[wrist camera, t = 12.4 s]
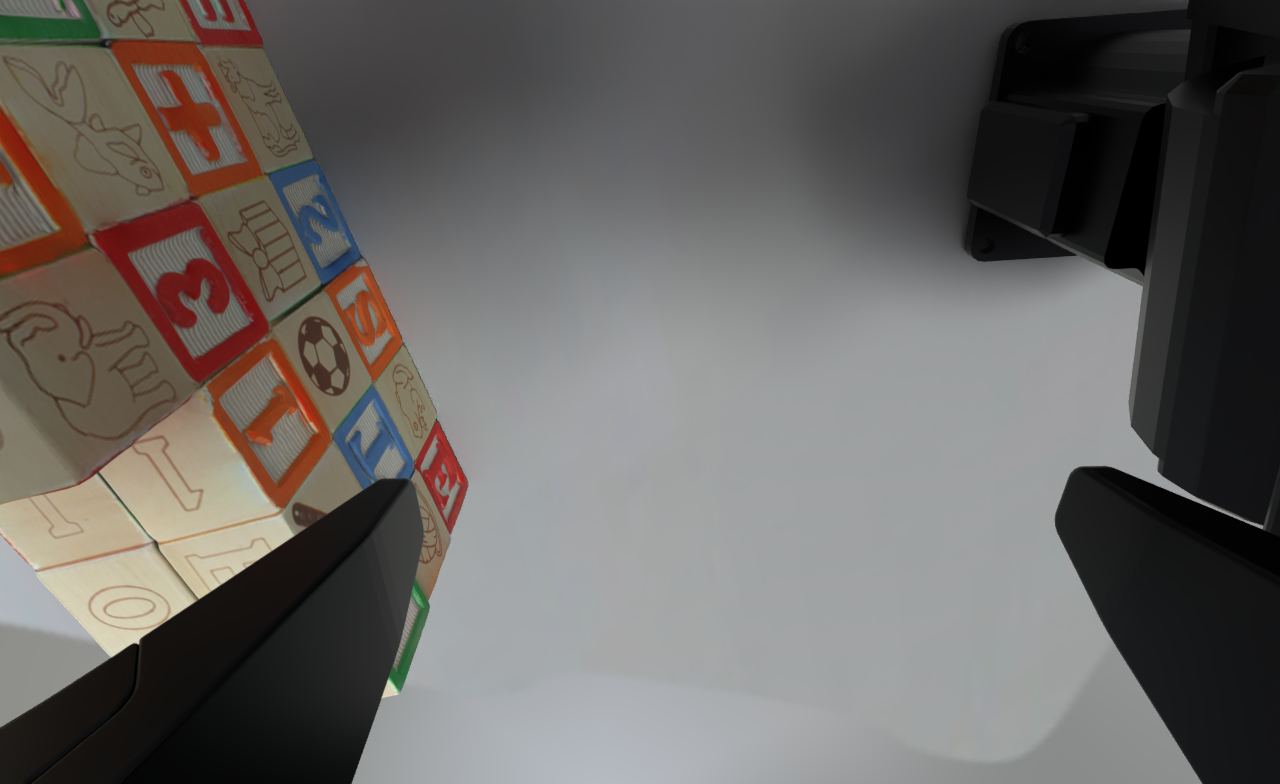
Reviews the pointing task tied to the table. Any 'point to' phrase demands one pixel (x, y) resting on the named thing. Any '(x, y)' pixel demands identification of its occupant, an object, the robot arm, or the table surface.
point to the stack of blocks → (184, 320)
